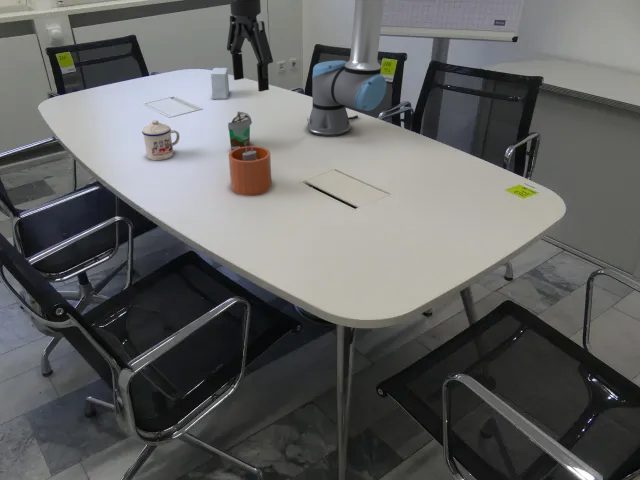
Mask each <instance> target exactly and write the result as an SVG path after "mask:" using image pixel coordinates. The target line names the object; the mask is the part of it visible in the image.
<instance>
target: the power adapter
mask: <svg viewBox="0 0 640 480" xmlns="http://www.w3.org/2000/svg"><path fill="white" fill-rule="evenodd" d="M250 146H251V150H252V151H249V152H247V146H246V153H243V161H254V160H259V159H257V158H256V151H253V148H252V146H253V143H251V144H250Z"/></svg>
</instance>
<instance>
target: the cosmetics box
mask: <svg viewBox="0 0 640 480" xmlns="http://www.w3.org/2000/svg"><path fill="white" fill-rule="evenodd" d="M210 80H211V95H212V96H211V97H212V100H227V99H228V96H229V94H230V85H229V84H230V83H229V82H230V81H229V69H228V67H213V69H212V70H211V72H210Z"/></svg>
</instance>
